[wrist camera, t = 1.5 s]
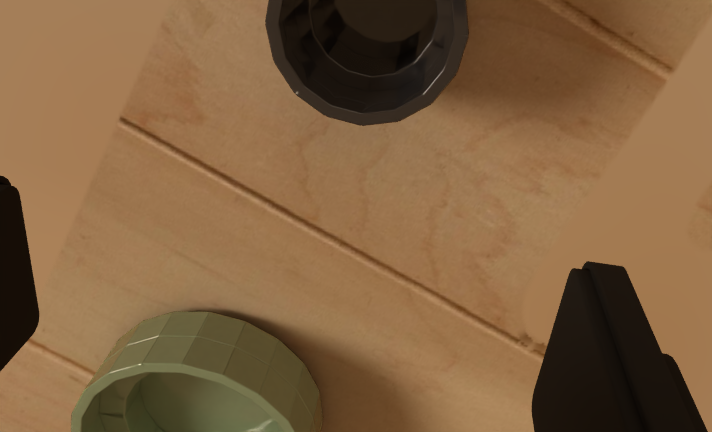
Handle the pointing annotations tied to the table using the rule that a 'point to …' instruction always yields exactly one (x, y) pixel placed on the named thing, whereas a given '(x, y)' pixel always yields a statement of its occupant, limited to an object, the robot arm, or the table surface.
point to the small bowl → (367, 54)
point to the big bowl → (199, 381)
